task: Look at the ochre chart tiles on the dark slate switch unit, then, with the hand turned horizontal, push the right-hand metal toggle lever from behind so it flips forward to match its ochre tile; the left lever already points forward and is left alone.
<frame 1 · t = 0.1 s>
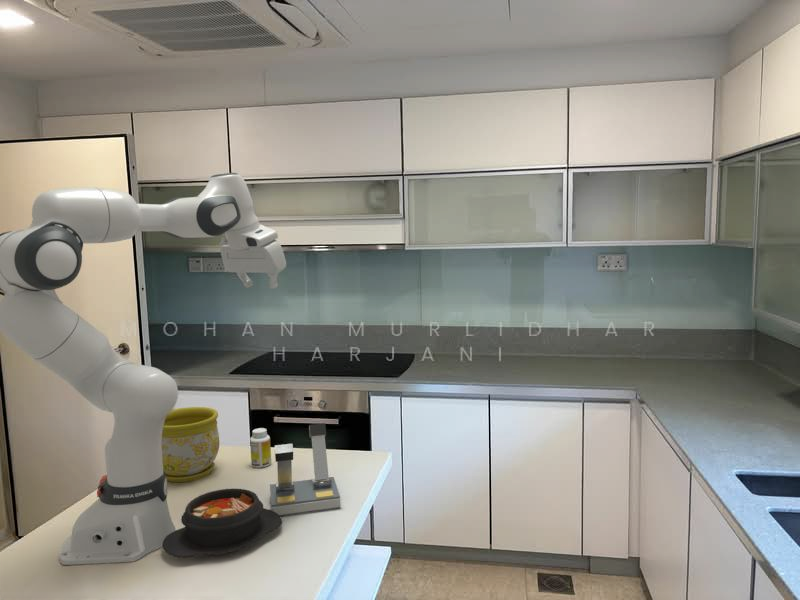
hand: (261, 287, 154), 52 cm above the table, tool tilted 20°, fingers open, 8 cm apart
supplement bottle: (261, 465, 171), on the table
switch unit: (304, 502, 146), on the table
lever left: (284, 470, 141), point 10 cm above the table, hinge at 30.0°
flowerpot: (187, 473, 166), on the table
casserole: (224, 540, 129), on the table
lever right: (319, 455, 149), point 10 cm above the table, hinge at -30.0°
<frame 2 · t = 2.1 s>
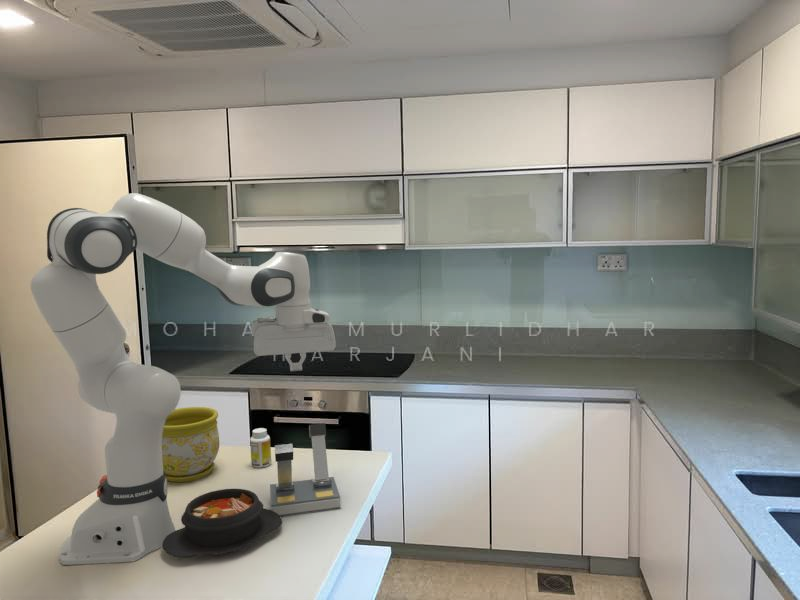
hand: (296, 370, 150), 31 cm above the table, tool pointing down, fingers closed
nothing on the table moved.
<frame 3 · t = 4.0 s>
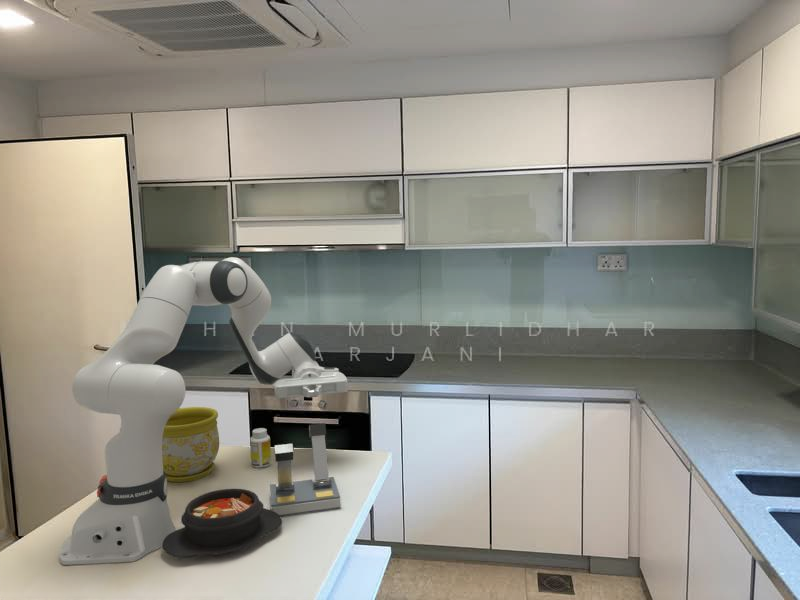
hand: (313, 394, 159), 23 cm above the table, tool horizontal, fingers closed
nothing on the table moved.
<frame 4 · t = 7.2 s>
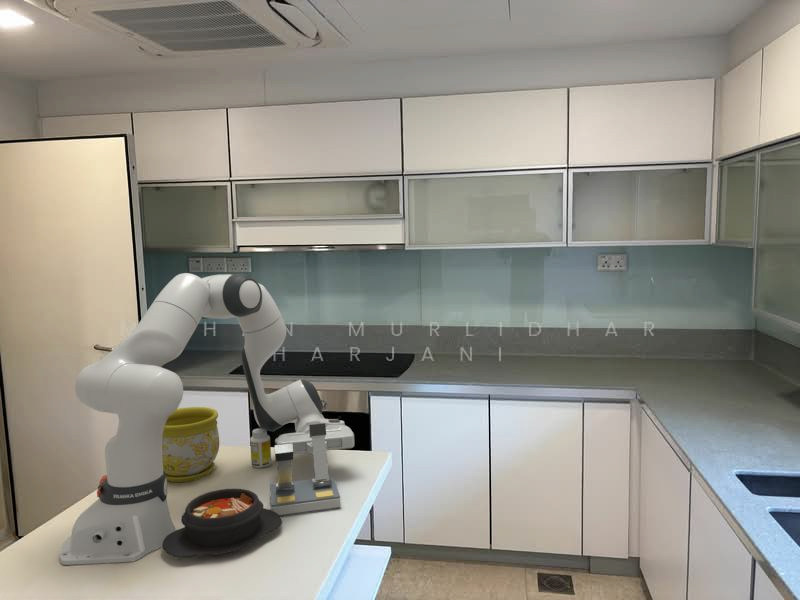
hand: (318, 451, 151), 10 cm above the table, tool horizontal, fingers closed, pressing on lever right
lever right: (319, 455, 149), point 10 cm above the table, hinge at -30.0°, touching gripper
everything else where it was.
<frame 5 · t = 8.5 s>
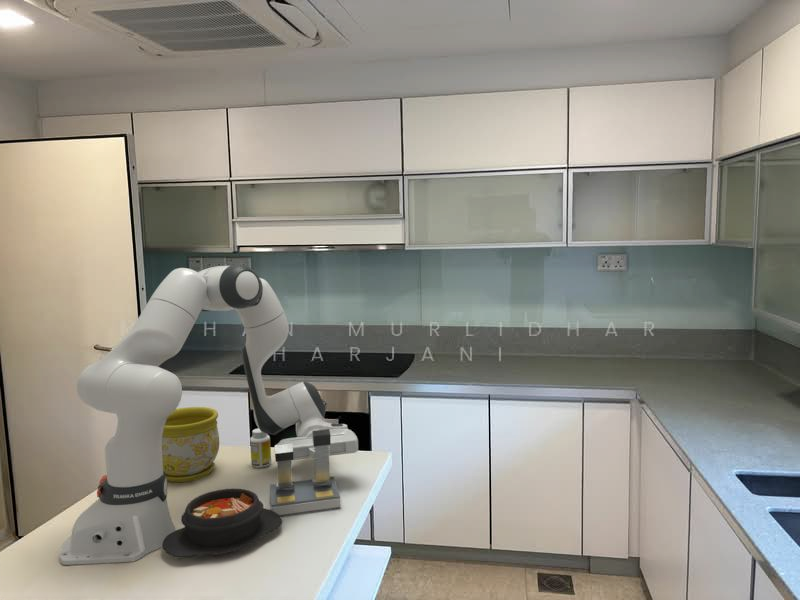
hand: (321, 457, 145), 11 cm above the table, tool horizontal, fingers closed, pressing on lever right
lever right: (321, 460, 144), point 11 cm above the table, hinge at 14.0°, touching gripper
everything else where it was.
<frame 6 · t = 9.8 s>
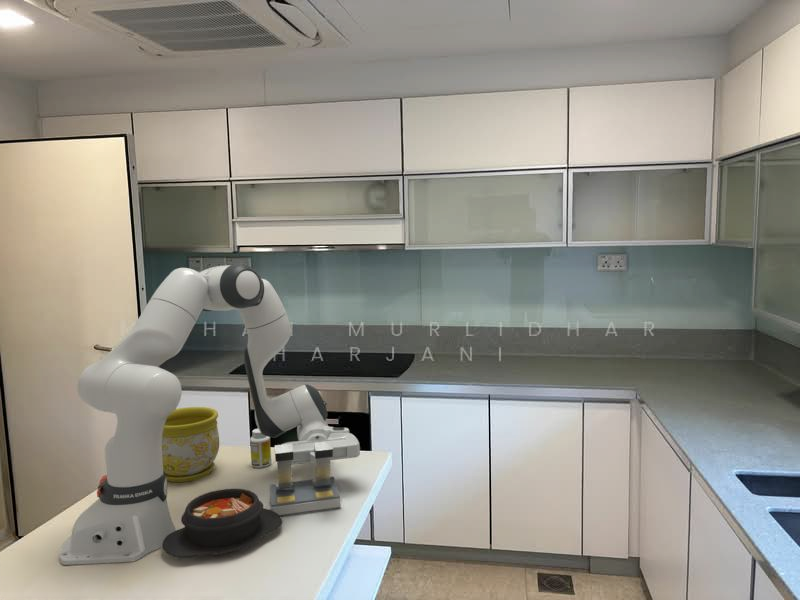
hand: (322, 462, 143), 11 cm above the table, tool horizontal, fingers closed
lever right: (322, 466, 142), point 10 cm above the table, hinge at 32.0°
everything else where it was.
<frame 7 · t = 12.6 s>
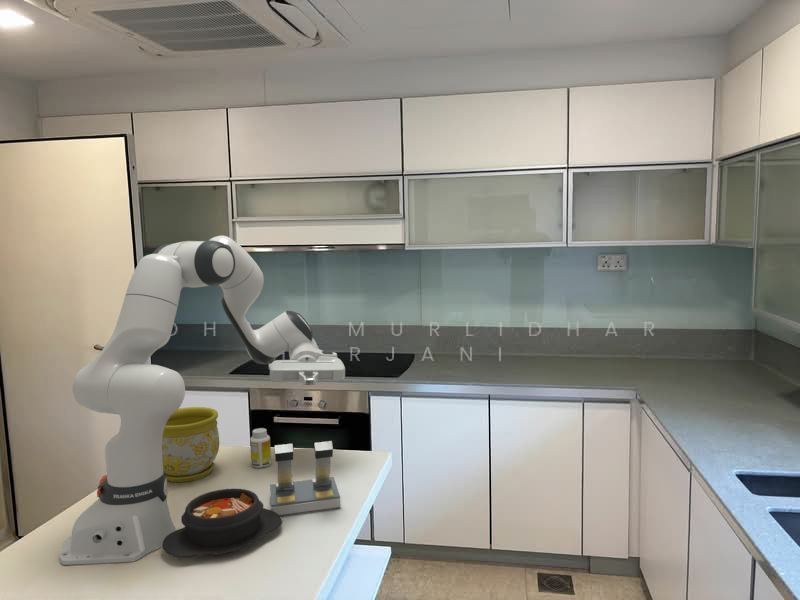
hand: (309, 382, 156), 27 cm above the table, tool horizontal, fingers closed
nothing on the table moved.
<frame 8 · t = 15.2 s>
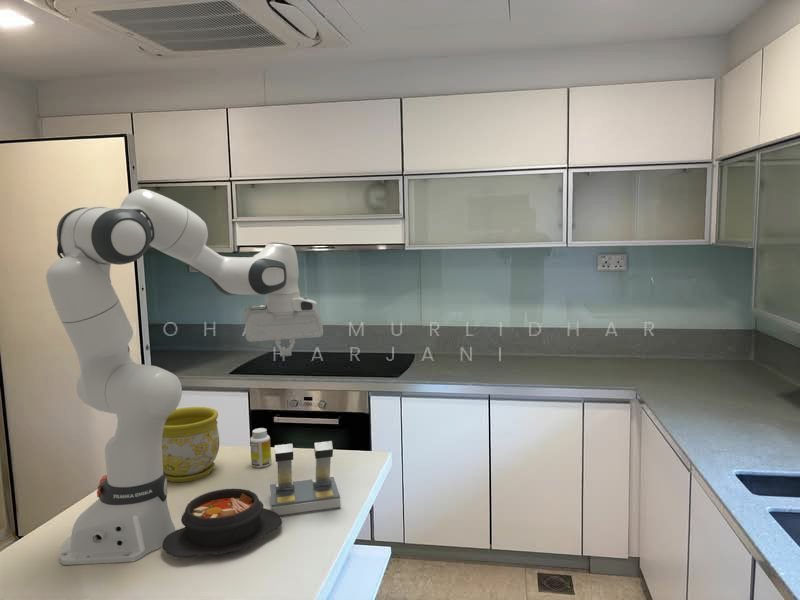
hand: (285, 355, 159), 33 cm above the table, tool pointing down, fingers closed
nothing on the table moved.
at the end: lever right at +32° (first picture: -30°); lever left at +30° (first picture: +30°) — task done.
